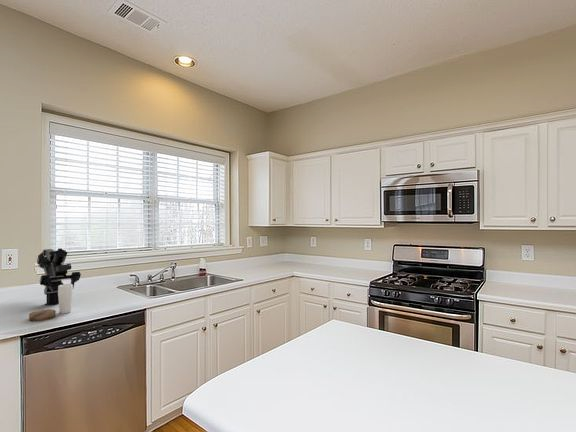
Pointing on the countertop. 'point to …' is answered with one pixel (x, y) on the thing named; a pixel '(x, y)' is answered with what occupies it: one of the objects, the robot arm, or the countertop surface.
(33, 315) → the walnut pedestal
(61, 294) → the drinking glass
